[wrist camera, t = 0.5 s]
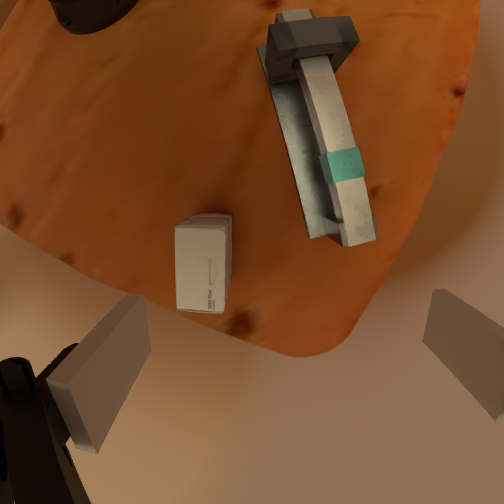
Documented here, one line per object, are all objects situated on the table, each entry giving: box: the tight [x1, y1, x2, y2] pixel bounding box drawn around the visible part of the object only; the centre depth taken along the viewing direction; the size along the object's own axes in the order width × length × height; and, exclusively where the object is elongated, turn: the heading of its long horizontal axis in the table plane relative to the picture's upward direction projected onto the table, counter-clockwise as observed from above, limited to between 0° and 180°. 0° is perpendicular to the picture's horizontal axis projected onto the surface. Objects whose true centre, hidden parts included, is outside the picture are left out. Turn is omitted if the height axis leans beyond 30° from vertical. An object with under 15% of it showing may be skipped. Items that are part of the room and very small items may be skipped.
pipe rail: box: [257, 8, 378, 247], centre depth 32 cm, size 26×8×10 cm, turn 15°
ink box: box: [175, 212, 233, 313], centre depth 34 cm, size 9×5×12 cm, turn 178°
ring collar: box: [265, 16, 360, 84], centre depth 27 cm, size 3×8×10 cm, turn 105°
